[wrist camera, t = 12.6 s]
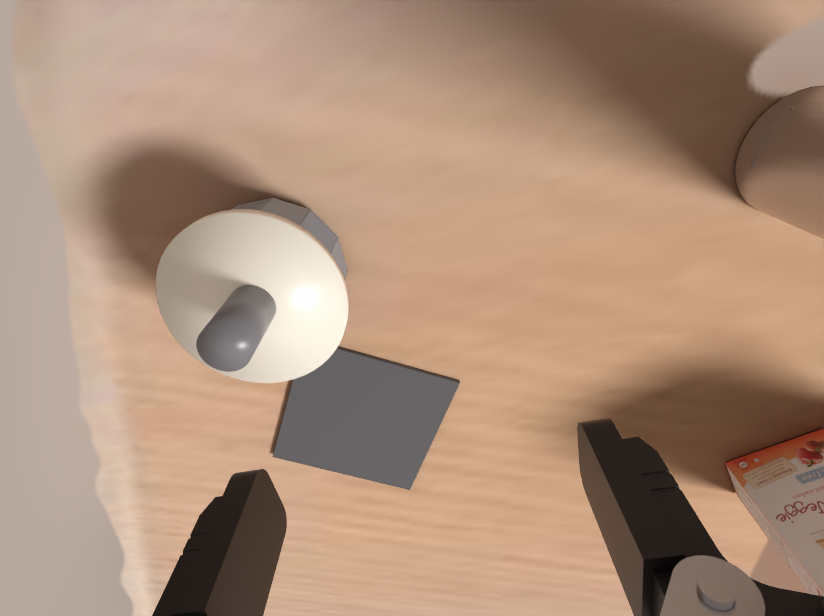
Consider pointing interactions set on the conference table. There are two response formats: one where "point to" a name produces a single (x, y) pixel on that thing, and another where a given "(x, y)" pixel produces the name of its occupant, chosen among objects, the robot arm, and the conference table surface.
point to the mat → (364, 417)
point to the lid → (252, 296)
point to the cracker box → (788, 502)
